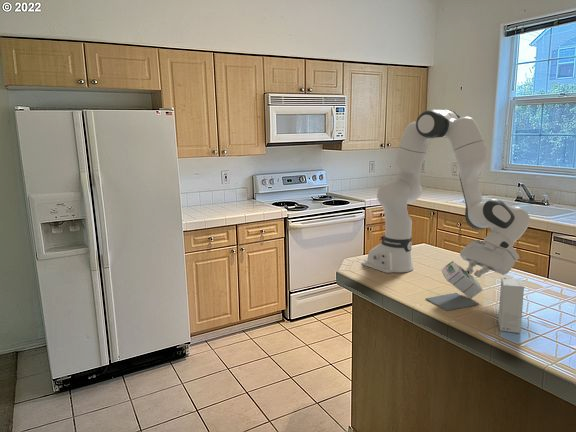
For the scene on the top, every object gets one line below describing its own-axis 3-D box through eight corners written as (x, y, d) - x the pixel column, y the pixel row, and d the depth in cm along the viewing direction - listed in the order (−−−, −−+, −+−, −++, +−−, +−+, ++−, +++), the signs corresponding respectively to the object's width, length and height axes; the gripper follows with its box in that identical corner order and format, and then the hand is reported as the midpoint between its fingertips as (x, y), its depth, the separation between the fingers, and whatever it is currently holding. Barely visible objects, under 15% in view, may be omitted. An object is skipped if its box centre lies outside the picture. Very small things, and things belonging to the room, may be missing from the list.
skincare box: (520, 334, 131) (526, 287, 128) (498, 331, 133) (503, 285, 130) (517, 322, 139) (522, 278, 136) (496, 319, 141) (501, 276, 138)
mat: (425, 299, 158) (425, 298, 157) (456, 293, 163) (456, 292, 163) (446, 311, 148) (446, 309, 147) (478, 304, 153) (478, 303, 153)
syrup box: (483, 289, 156) (459, 269, 150) (470, 299, 158) (445, 279, 152) (477, 279, 161) (453, 259, 155) (464, 289, 163) (440, 270, 157)
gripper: (470, 233, 166) (447, 260, 164) (515, 247, 147) (490, 277, 146) (478, 244, 168) (456, 270, 167) (523, 258, 150) (499, 288, 148)
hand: (472, 274), depth 156 cm, fingers open, 2 cm apart
